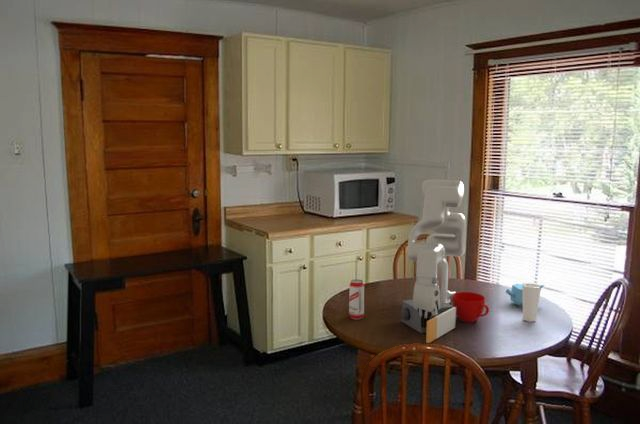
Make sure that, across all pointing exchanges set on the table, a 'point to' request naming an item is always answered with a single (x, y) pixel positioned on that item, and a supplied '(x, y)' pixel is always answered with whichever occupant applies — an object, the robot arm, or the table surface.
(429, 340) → the side door
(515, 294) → the teapot
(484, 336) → the table surface
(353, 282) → the beer can
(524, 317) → the drinking glass
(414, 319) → the block
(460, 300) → the ceramic cup
